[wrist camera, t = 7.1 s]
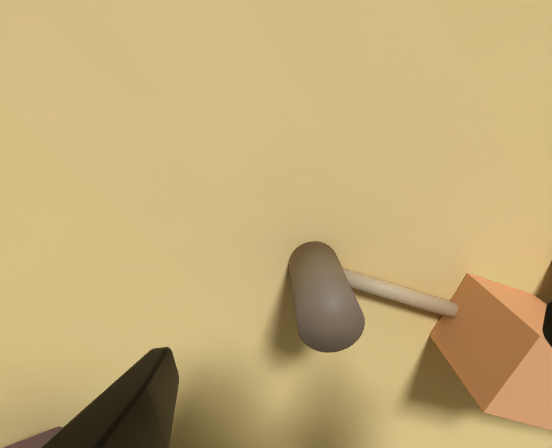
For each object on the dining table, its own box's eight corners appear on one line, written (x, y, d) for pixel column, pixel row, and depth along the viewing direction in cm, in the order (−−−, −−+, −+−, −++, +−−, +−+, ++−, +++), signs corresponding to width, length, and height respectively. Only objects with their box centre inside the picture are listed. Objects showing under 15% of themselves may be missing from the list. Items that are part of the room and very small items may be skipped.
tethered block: (533, 294, 22) (626, 362, 16) (492, 353, 24) (563, 433, 18) (305, 220, 20) (321, 268, 14) (276, 290, 21) (280, 359, 16)
